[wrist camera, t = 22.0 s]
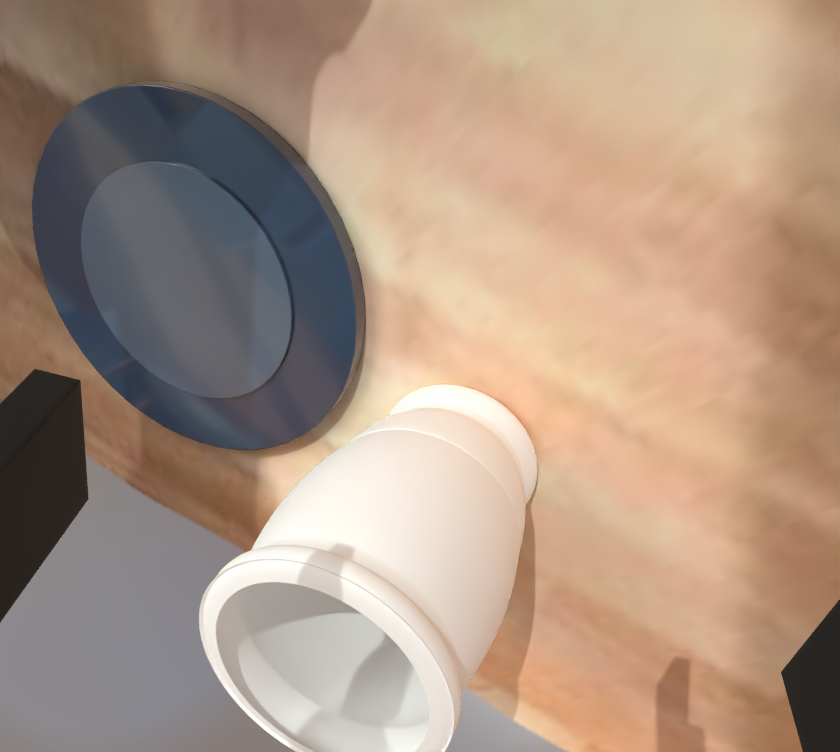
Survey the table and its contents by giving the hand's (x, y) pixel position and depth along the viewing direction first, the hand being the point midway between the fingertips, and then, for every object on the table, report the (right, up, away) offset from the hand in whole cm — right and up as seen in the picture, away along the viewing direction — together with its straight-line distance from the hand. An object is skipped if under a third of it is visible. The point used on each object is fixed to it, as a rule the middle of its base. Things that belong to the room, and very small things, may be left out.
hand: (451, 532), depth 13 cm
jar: (+2, -1, +27) cm, 27 cm away
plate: (-12, +8, +28) cm, 32 cm away
